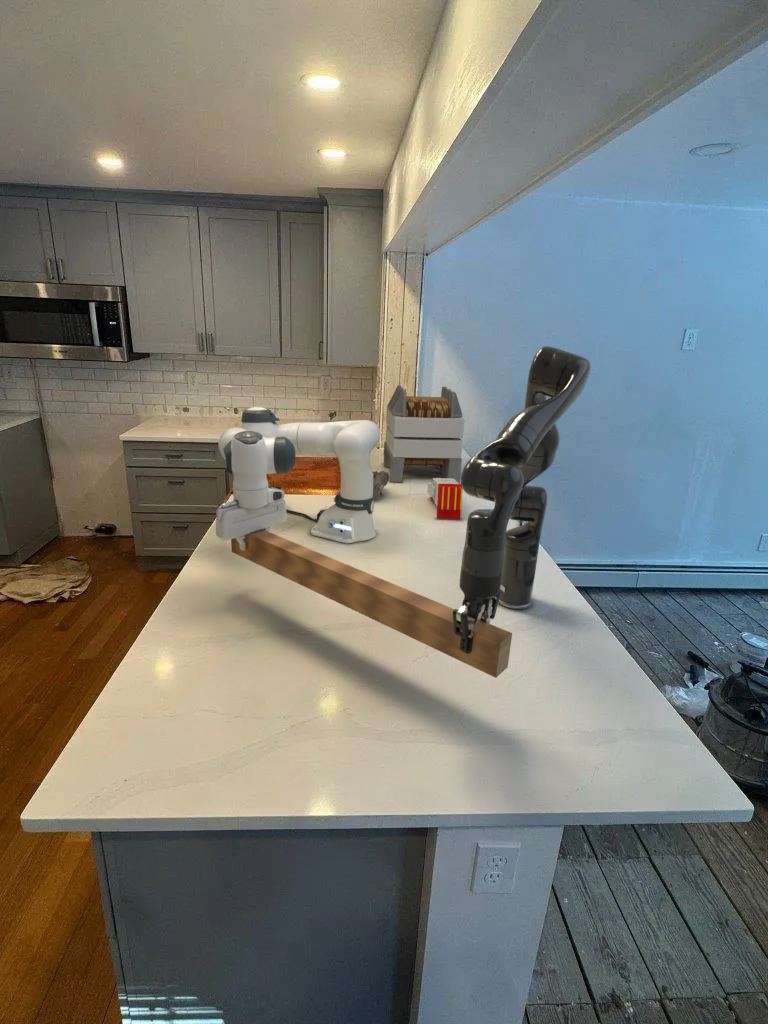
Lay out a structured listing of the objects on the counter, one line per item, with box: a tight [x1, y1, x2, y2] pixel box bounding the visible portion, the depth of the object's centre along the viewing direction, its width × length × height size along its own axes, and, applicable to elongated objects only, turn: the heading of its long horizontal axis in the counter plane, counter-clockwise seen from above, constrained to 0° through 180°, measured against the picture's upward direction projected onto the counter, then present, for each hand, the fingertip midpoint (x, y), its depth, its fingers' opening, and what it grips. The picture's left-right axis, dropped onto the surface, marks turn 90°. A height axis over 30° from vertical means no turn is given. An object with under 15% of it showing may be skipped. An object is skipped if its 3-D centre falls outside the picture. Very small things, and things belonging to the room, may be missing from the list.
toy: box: [427, 477, 464, 520], centre depth 227 cm, size 12×13×30 cm
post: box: [230, 529, 513, 679], centre depth 129 cm, size 81×4×8 cm, turn 50°
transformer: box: [383, 384, 465, 484], centre depth 268 cm, size 34×33×41 cm
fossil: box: [372, 470, 390, 498], centre depth 238 cm, size 22×10×15 cm
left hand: (253, 546), depth 149 cm, fingers closed on post, 4 cm apart
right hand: (472, 645), depth 110 cm, fingers closed on post, 4 cm apart
